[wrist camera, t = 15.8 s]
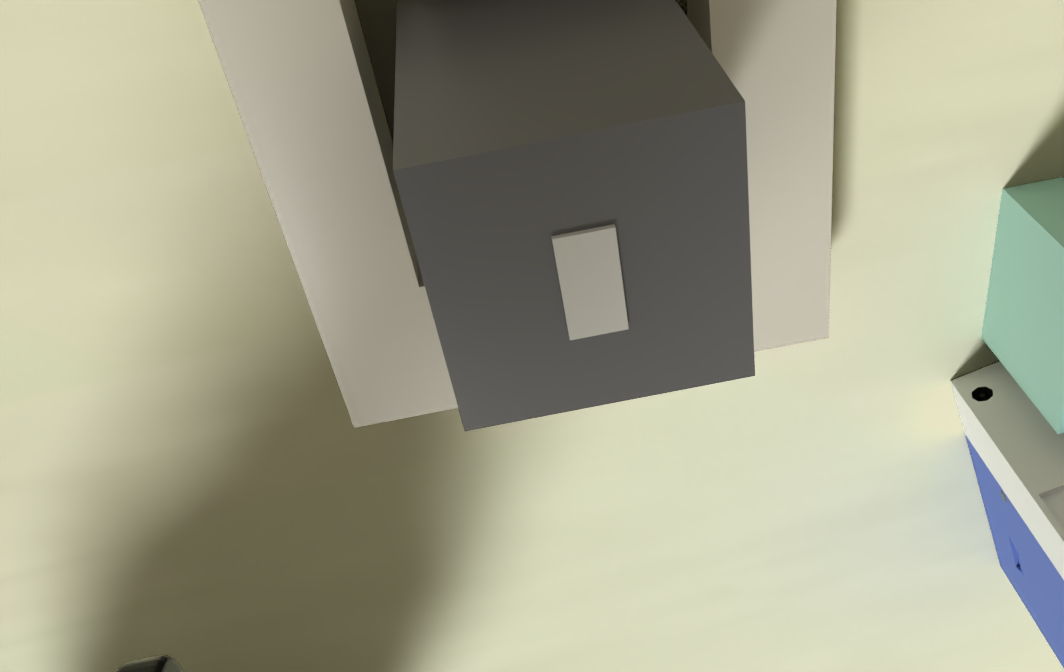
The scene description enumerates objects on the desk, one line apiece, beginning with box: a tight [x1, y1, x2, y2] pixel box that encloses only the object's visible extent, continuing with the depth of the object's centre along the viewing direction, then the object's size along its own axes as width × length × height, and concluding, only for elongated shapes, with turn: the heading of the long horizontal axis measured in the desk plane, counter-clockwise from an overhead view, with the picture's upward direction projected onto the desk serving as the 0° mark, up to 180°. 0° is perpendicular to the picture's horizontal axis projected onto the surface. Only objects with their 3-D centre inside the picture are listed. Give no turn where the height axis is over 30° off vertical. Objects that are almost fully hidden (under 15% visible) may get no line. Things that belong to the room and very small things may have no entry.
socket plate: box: [198, 0, 837, 428], centre depth 18 cm, size 12×10×2 cm
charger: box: [393, 0, 755, 431], centre depth 16 cm, size 4×4×7 cm
